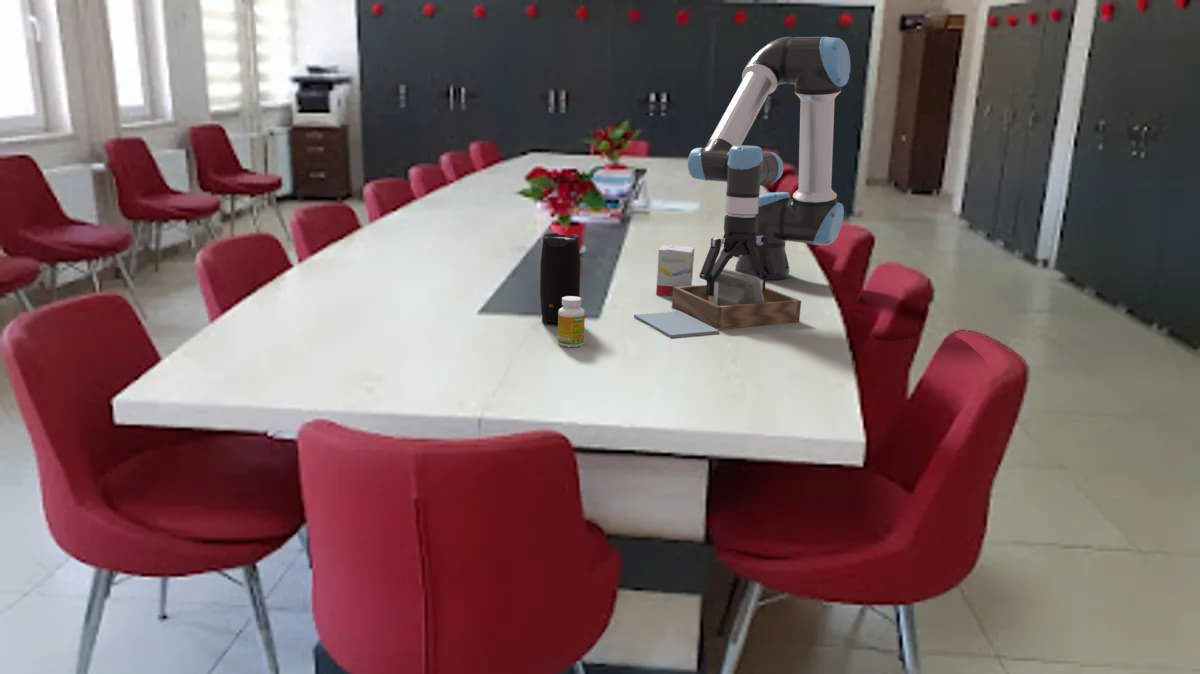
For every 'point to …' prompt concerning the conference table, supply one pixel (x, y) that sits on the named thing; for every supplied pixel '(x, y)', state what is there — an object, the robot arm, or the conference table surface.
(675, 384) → the conference table surface
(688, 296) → the walnut tray
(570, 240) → the portable speaker
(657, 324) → the slate mat
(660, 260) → the ink box
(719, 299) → the digital clock
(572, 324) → the supplement bottle
